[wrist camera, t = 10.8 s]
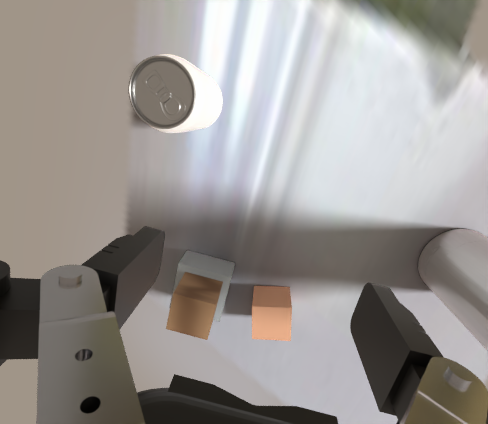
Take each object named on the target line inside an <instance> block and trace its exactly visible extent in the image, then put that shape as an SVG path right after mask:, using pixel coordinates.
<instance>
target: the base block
mask: <svg viewBox="0 0 488 424" xmlns="http://www.w3.org/2000/svg"><path fill="white" fill-rule="evenodd" d="M234 266H235V263H234V262H230V261H226V260H222V259H219V258H215V257H211V256H208V255H204V254H200V253H196V252H193V251H189V250H187V251H186V252H185V254H184V255H183V257H182V259H181V260H180V262H179V263H178V268H177V273H176V278H175V283H174V288H173V293H174V291H175V289H176V287H177V286H178V284H179V282H180V280H181V279H182V277H183V275H184V273H185V272H189V273H192V274H196V275H200V276H204V277H207V278H211V279H215V280H219V281H222V282H223V284H222V288H221V292H220V296H219V300H218V303H217V307H216V311H215V315H214V318H213V320H215V321H219V322H220V319H221V315H222V311H223V308H224V304H225V300H226V297H227V293H228V289H229V285H230V282H231V278H232V274H233V270H234ZM173 293H172V297H173ZM171 302H172V298H171ZM170 307H171V303H170Z"/></svg>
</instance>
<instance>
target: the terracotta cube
mask: <svg viewBox="0 0 488 424" xmlns="http://www.w3.org/2000/svg"><path fill="white" fill-rule="evenodd" d="M291 315H292V305H291V296H290V287H279V286H254V292H253V302H252V339H265V340H285V341H291Z"/></svg>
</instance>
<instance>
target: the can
mask: <svg viewBox="0 0 488 424" xmlns="http://www.w3.org/2000/svg"><path fill="white" fill-rule="evenodd" d="M129 98H130V102H131V105H132V107H133V109H134V111H135V112H136V114H137V115H138V116H139V117H140V118H141V119H142V120H143V121H144V122H145V123H147V124H148V125H149V126H151V127H152V128H154V129H156V130H158V131H161V132H166V133H179V132H186V131H193V130H199V129H204V128H207V127H209V126H210V125H212V124H213V123H214V122H215V121H216V120H217V118H218V117H219V115H220V113H221V110H222V105H223V98H222V93H221V90H220V88H219V86H218V84H217V83H216V82H215V81H214V79H212V78H211V77H210V76H209V75H207V74H206V73H205V72H203V71H202V70H200V69H199V68H197V67H196V66H194V65H193V64H191V63H190V62H188V61H186V60H185V59H183V58H181V57H178V56H175V55H171V54H161V55H156V56H152V57H149V58H147V59H145V60H143V61H142V62H141V63H139V64H138V65H137V67H136V68H135V69H134V71H133V73H132V75H131V78H130V81H129Z"/></svg>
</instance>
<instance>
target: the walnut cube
mask: <svg viewBox="0 0 488 424" xmlns="http://www.w3.org/2000/svg"><path fill="white" fill-rule="evenodd" d="M222 284H223V282H222V281H219V280H215V279H211V278H207V277H204V276H200V275H196V274H192V273H189V272H185V273H184V275H183V277H182V279H181V280H180V282H179V284H178V286H177V287H176V289H175V291H174V293H173V297H172V302H171V307H170V312H169V317H168V322H167V327H166V329H168V330H172V331H176V332H180V333H184V334H187V335H191V336H194V337H198V338H202V339H205V340H207V339H208V335H209V332H210V329H211V325H212V322H213V318H214V315H215V311H216V307H217V303H218V300H219V296H220V292H221V288H222Z"/></svg>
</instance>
